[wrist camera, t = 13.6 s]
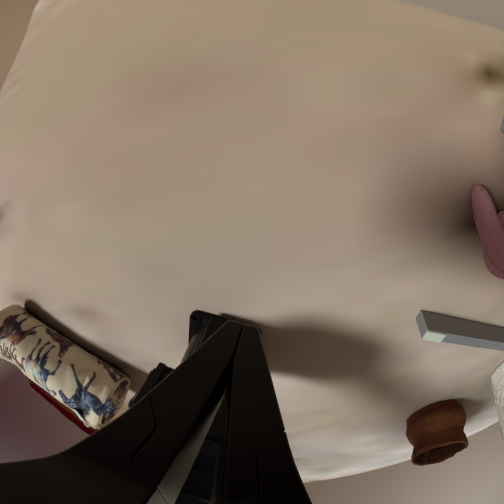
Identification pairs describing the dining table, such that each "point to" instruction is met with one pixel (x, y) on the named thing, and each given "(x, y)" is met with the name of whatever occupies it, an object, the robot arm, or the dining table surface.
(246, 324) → the robot arm
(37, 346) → the pencil case
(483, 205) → the video game controller
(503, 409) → the white cup
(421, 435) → the ceramic pot
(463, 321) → the frame
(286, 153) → the dining table surface
